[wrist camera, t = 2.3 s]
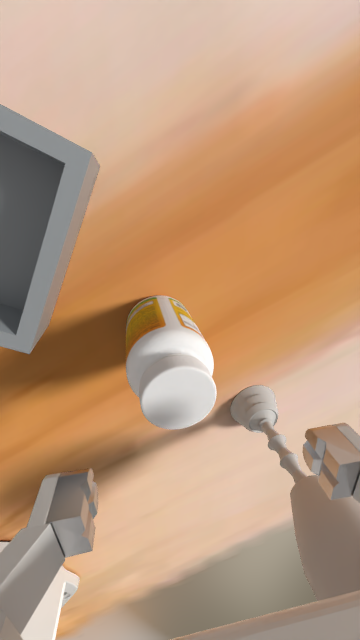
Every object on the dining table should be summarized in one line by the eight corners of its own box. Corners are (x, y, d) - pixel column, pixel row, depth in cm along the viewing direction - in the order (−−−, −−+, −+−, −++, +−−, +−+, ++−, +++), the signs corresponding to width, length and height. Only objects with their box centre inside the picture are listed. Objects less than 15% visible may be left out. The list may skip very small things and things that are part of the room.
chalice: (223, 381, 26) (389, 678, 9) (287, 371, 27) (536, 624, 11) (221, 437, 29) (346, 738, 12) (279, 426, 30) (465, 691, 13)
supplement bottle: (124, 352, 23) (122, 444, 14) (127, 291, 21) (128, 353, 12) (185, 353, 24) (220, 438, 15) (193, 296, 22) (239, 355, 13)
